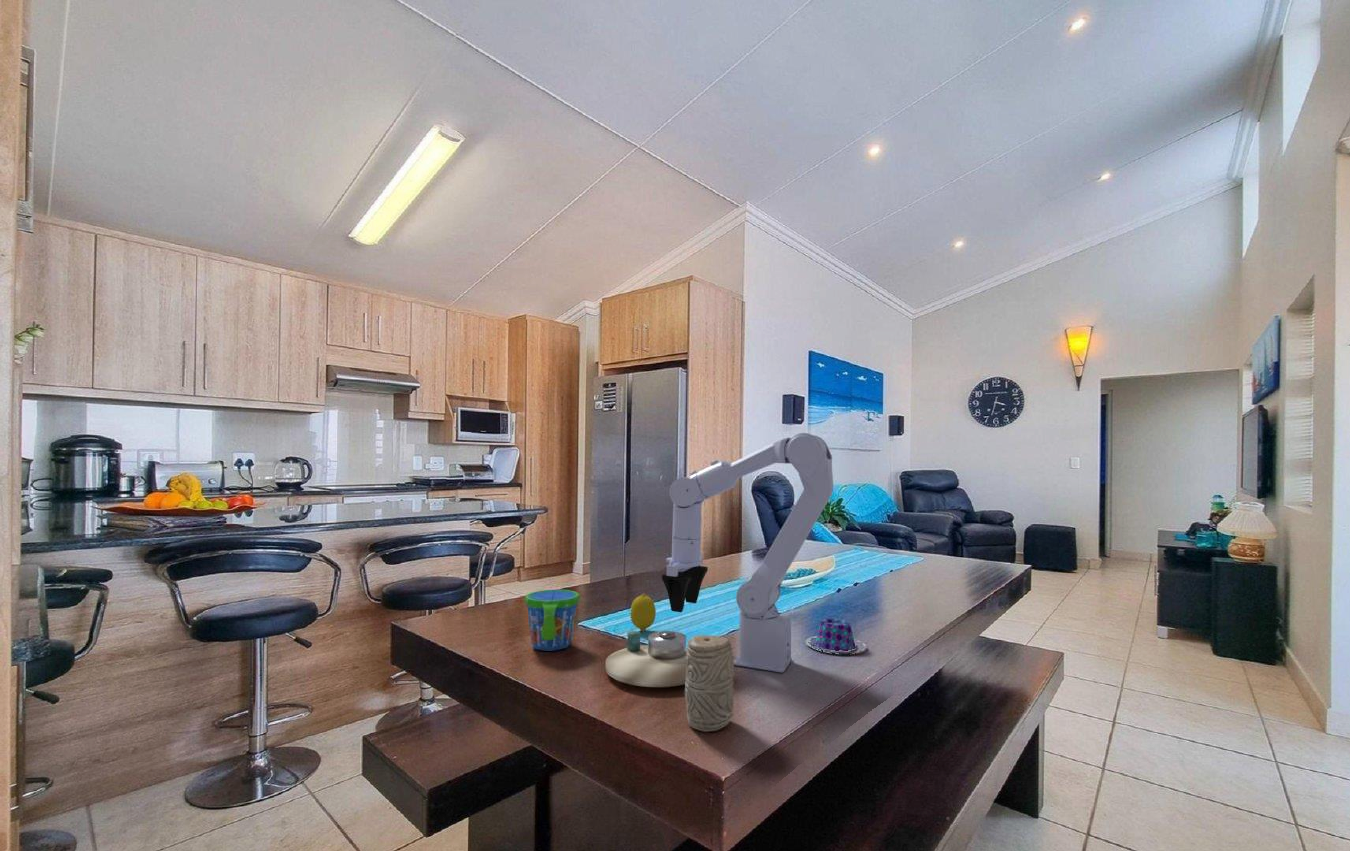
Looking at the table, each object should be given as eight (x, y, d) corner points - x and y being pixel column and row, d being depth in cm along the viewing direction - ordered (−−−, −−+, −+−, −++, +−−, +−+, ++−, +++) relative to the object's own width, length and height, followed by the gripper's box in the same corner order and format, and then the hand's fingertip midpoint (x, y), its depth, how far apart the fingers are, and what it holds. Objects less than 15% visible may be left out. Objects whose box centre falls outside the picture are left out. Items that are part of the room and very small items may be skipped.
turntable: (721, 658, 105) (721, 636, 105) (685, 694, 88) (685, 668, 89) (634, 645, 112) (634, 624, 112) (585, 676, 95) (586, 651, 96)
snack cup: (533, 634, 121) (534, 585, 122) (582, 634, 121) (584, 586, 122) (514, 659, 106) (516, 604, 106) (571, 660, 106) (573, 604, 107)
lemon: (654, 635, 122) (655, 597, 122) (628, 634, 122) (629, 596, 122) (656, 627, 127) (656, 591, 128) (631, 627, 127) (632, 591, 128)
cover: (691, 650, 106) (692, 630, 107) (677, 662, 100) (677, 641, 100) (657, 645, 109) (658, 626, 109) (641, 656, 103) (642, 636, 103)
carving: (674, 726, 80) (675, 639, 81) (707, 710, 86) (708, 628, 86) (709, 742, 76) (710, 650, 76) (742, 723, 81) (743, 637, 82)
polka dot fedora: (875, 647, 117) (875, 621, 117) (851, 662, 108) (851, 634, 108) (821, 635, 125) (821, 610, 125) (795, 648, 116) (795, 622, 116)
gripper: (681, 532, 122) (679, 596, 121) (653, 540, 108) (650, 612, 108) (712, 534, 119) (710, 600, 118) (687, 543, 106) (685, 618, 105)
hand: (684, 606), depth 113 cm, fingers open, 7 cm apart
